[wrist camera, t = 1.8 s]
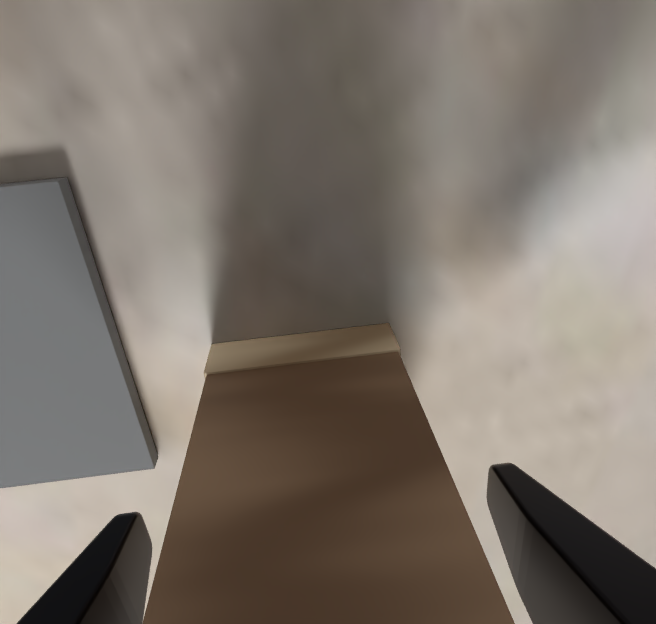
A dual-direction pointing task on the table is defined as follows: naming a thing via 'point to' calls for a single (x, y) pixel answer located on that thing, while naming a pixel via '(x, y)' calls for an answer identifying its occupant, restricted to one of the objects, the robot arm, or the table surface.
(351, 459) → the wooden post stub
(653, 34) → the table surface
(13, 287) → the pad
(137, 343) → the table surface
